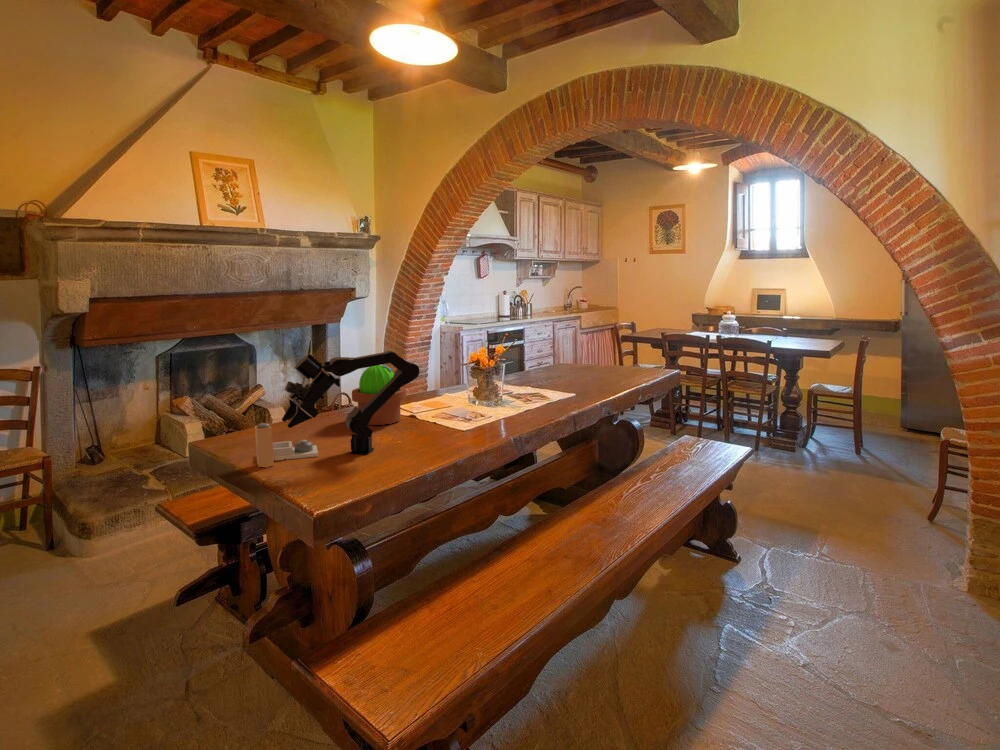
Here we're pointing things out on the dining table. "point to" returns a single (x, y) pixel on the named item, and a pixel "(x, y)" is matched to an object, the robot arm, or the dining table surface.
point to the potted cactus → (371, 385)
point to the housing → (294, 450)
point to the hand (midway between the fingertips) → (285, 424)
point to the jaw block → (264, 445)
